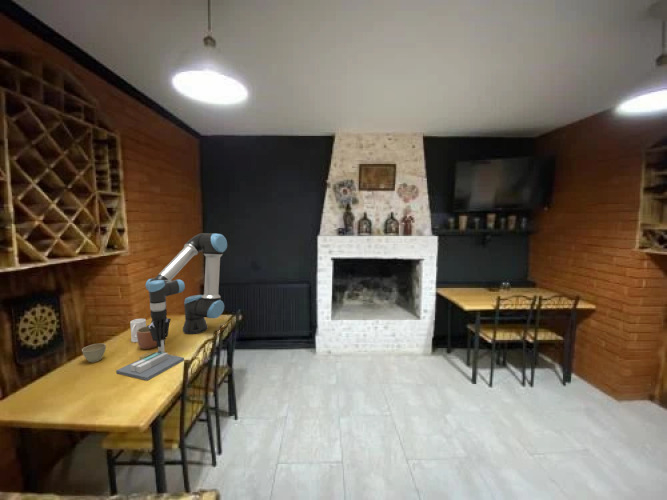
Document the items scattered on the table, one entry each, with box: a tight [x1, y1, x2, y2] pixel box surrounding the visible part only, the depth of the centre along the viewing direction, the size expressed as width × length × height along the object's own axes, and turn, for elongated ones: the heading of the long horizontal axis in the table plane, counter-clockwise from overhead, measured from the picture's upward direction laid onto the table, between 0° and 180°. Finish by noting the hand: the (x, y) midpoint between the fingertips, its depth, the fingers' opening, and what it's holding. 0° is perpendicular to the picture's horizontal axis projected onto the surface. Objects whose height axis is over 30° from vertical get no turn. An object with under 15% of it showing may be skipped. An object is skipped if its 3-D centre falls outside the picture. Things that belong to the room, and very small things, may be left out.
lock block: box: [138, 351, 155, 360], centre depth 164 cm, size 6×4×3 cm, turn 160°
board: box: [115, 350, 185, 382], centre depth 161 cm, size 24×20×5 cm
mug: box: [130, 318, 147, 343], centre depth 193 cm, size 12×8×12 cm
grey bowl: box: [81, 343, 106, 363], centre depth 167 cm, size 10×10×7 cm
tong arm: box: [131, 352, 163, 372], centre depth 160 cm, size 16×2×3 cm, turn 160°
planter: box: [137, 325, 158, 350], centre depth 184 cm, size 12×12×11 cm
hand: (161, 351), depth 172 cm, fingers closed
